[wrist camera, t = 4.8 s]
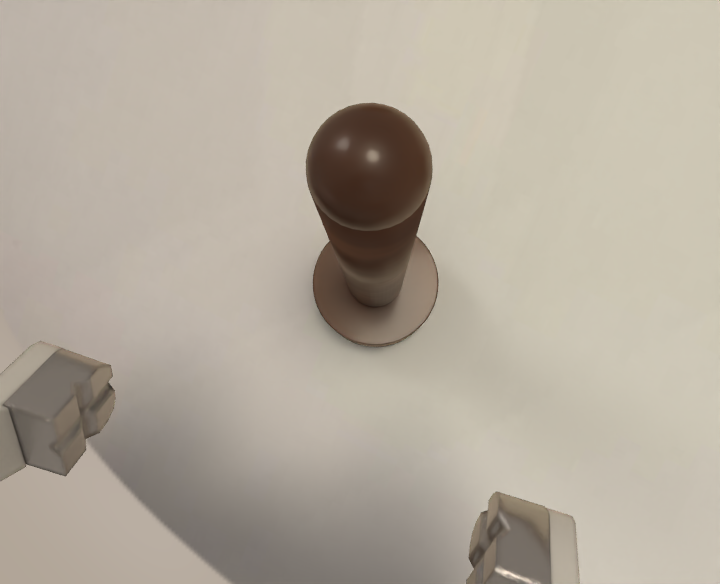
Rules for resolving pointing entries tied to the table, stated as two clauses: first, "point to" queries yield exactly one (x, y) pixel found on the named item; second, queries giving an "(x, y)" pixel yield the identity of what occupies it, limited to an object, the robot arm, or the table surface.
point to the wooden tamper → (372, 224)
